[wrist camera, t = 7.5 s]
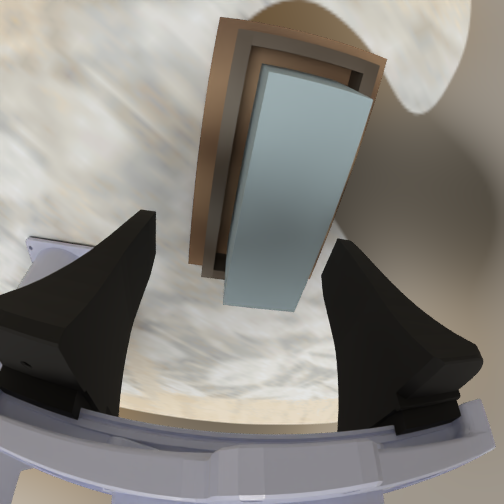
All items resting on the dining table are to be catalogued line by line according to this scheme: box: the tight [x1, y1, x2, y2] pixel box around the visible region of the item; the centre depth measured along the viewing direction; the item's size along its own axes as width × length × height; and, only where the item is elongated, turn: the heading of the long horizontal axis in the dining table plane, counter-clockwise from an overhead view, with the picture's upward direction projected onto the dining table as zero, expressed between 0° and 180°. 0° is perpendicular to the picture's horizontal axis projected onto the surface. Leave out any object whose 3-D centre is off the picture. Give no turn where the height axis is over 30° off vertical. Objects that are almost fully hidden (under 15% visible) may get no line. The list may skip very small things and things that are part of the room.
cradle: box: [188, 17, 387, 280], centre depth 19 cm, size 18×10×3 cm, turn 169°
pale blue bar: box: [223, 63, 373, 312], centre depth 17 cm, size 13×4×6 cm, turn 169°
